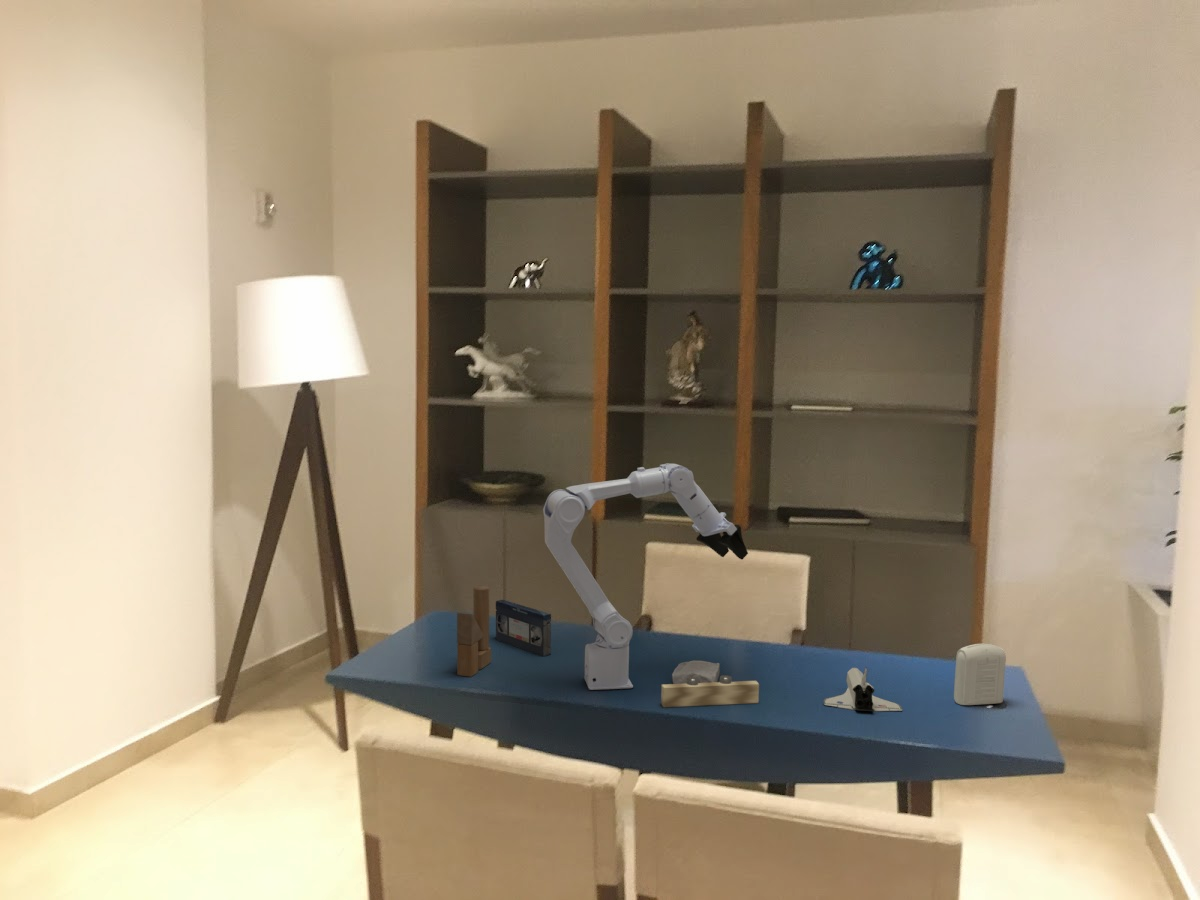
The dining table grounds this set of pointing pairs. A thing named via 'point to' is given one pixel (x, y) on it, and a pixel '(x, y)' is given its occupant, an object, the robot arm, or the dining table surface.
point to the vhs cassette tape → (523, 627)
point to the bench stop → (709, 692)
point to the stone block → (696, 672)
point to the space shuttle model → (860, 695)
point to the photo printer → (979, 675)
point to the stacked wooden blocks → (474, 635)
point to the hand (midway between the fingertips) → (734, 555)
